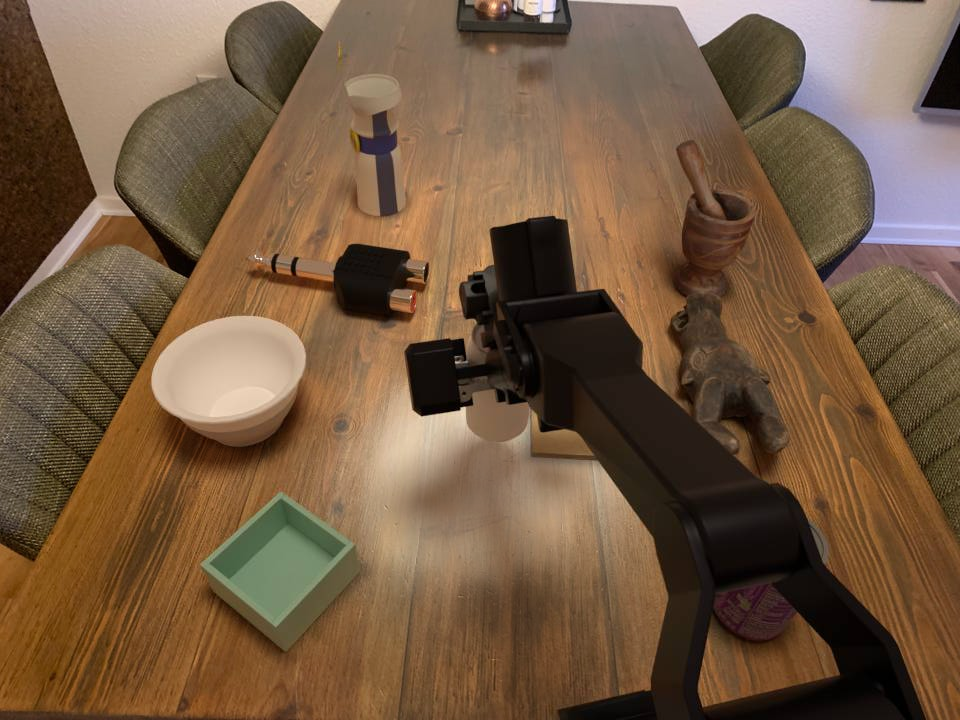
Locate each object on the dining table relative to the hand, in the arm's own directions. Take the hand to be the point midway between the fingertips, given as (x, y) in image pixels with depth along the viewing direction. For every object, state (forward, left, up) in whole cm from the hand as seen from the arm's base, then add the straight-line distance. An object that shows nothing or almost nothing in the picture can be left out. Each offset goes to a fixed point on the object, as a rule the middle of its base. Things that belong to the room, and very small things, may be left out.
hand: (496, 366), depth 70 cm
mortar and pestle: (+19, -37, -13) cm, 44 cm away
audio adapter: (+33, +11, -13) cm, 38 cm away
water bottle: (+52, -1, -13) cm, 53 cm away
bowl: (+14, +25, -13) cm, 31 cm away
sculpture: (-1, -29, -13) cm, 32 cm away
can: (-1, 0, -7) cm, 7 cm away
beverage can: (-25, -16, -13) cm, 33 cm away
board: (+2, -12, -13) cm, 18 cm away
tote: (-8, +24, -13) cm, 29 cm away
